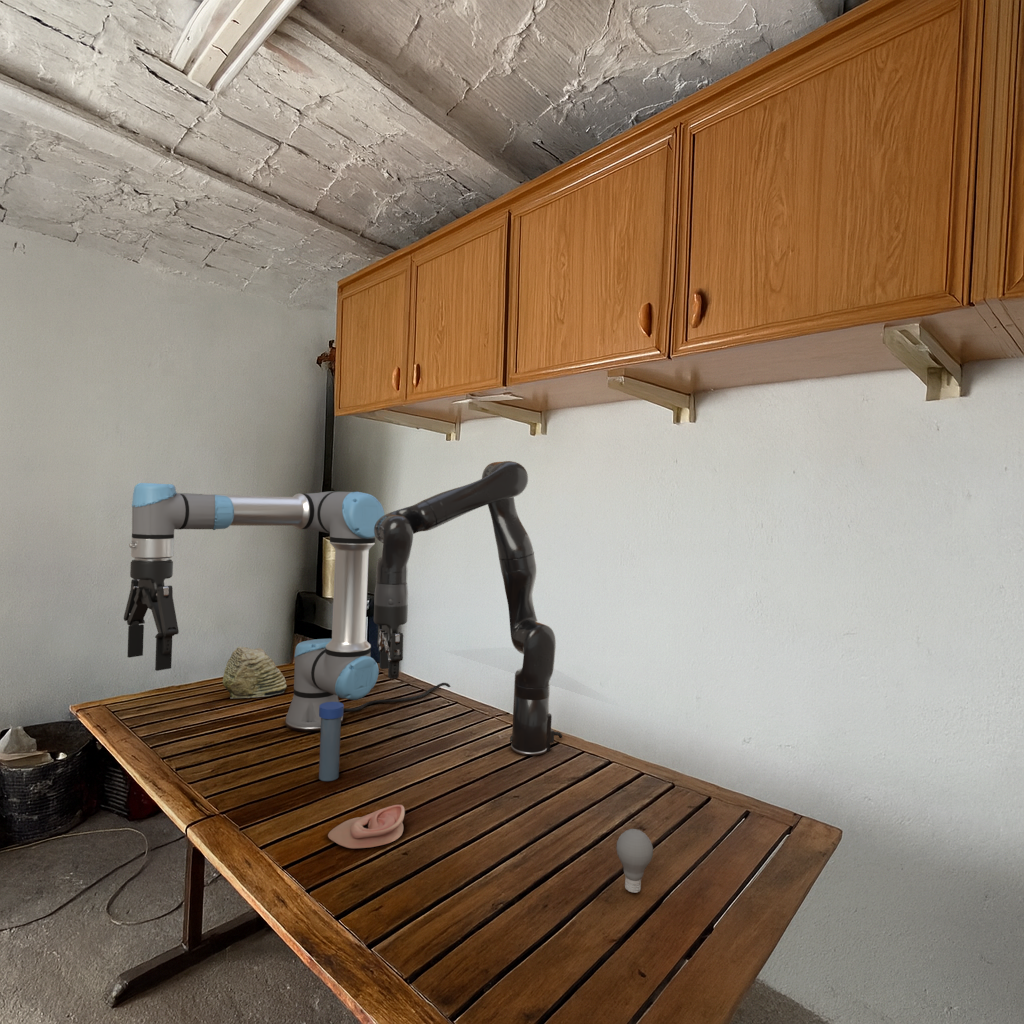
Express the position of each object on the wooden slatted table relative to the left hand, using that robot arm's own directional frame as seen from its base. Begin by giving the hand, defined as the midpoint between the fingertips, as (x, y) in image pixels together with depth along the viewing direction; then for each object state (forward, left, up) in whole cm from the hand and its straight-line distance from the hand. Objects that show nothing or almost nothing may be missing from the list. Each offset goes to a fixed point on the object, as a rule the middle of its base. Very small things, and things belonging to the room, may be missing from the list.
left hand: (148, 662), depth 129 cm
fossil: (-50, -47, -28) cm, 74 cm away
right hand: (-41, +27, -4) cm, 49 cm away
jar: (-32, +18, -28) cm, 46 cm away
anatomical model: (-22, +44, -28) cm, 56 cm away
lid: (-32, +18, -12) cm, 39 cm away
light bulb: (-41, +90, -28) cm, 103 cm away
